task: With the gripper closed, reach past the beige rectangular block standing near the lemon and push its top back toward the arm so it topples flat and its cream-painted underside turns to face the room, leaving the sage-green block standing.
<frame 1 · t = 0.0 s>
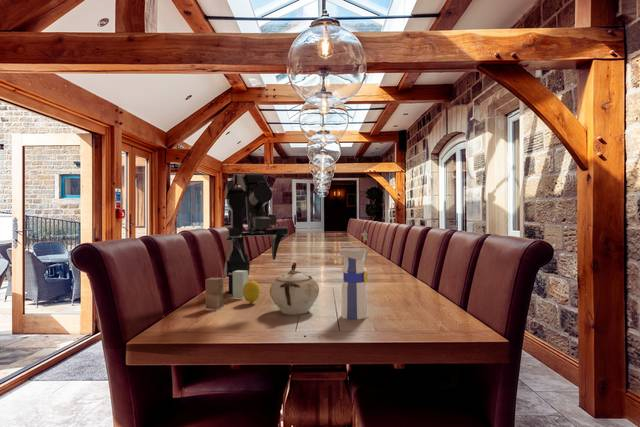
hand: (259, 260, 135), 15 cm above the table, tool pointing down, fingers open, 9 cm apart
lemon: (251, 304, 145), on the table
sugar bowl: (294, 312, 133), on the table
beige rectangular block: (214, 308, 139), on the table
sage block: (240, 298, 155), on the table
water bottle: (355, 316, 127), on the table
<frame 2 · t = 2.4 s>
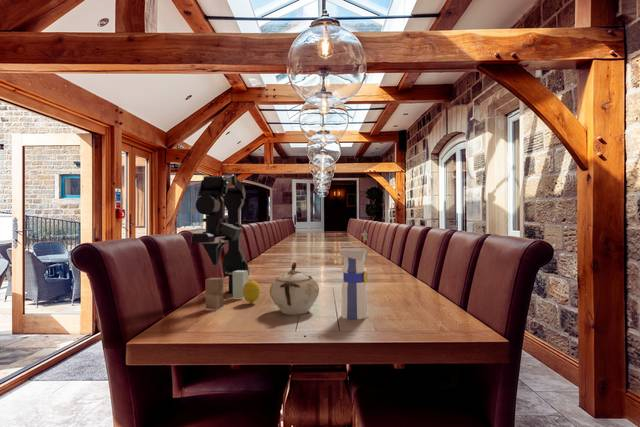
hand: (215, 264, 139), 14 cm above the table, tool pointing down, fingers closed
nothing on the table moved.
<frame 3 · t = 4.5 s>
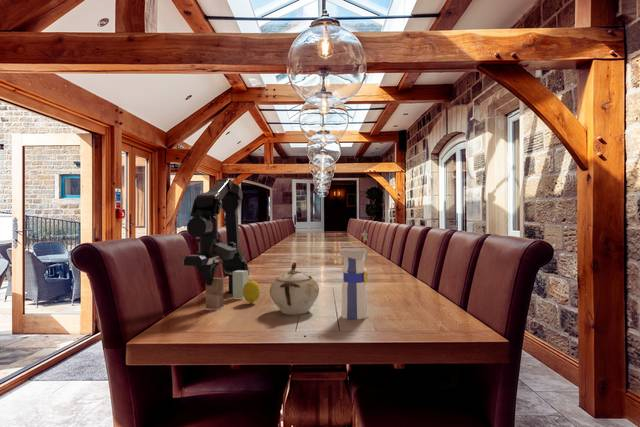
hand: (209, 285, 136), 8 cm above the table, tool pointing down, fingers closed
beige rectangular block: (214, 308, 139), on the table, touching gripper
everything else where it was.
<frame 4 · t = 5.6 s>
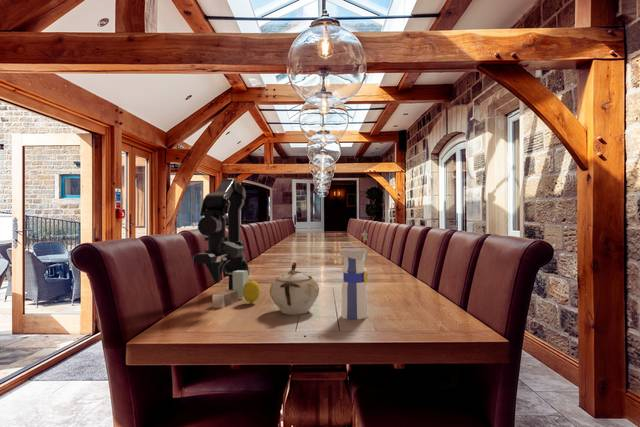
hand: (217, 282, 140), 8 cm above the table, tool pointing down, fingers closed
beige rectangular block: (218, 301, 140), point 2 cm above the table, tilted 90°
everything else where it was.
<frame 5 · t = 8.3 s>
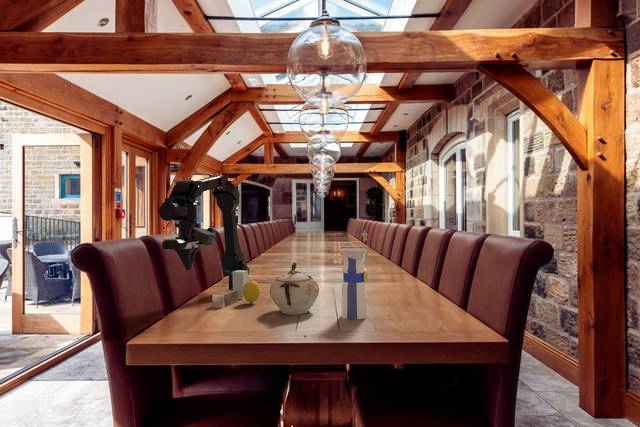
hand: (188, 270, 137), 13 cm above the table, tool pointing down, fingers closed
nothing on the table moved.
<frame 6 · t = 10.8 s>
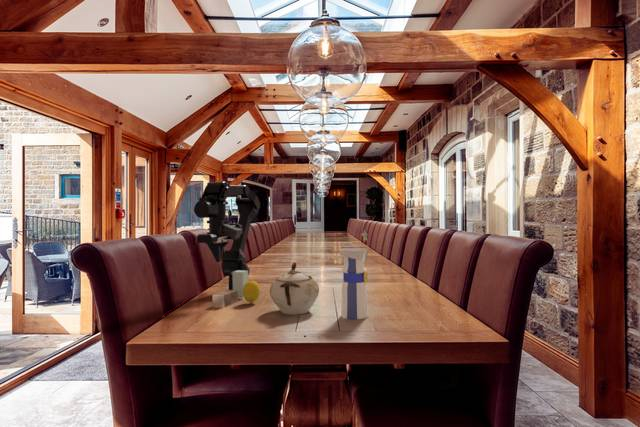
hand: (218, 261, 154), 13 cm above the table, tool pointing down, fingers closed
nothing on the table moved.
at the end: beige rectangular block tilted 90°; beige rectangular block inside the target area (2.0 cm from its centre), point 1.9 cm above the table; sage block tilted 0° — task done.
